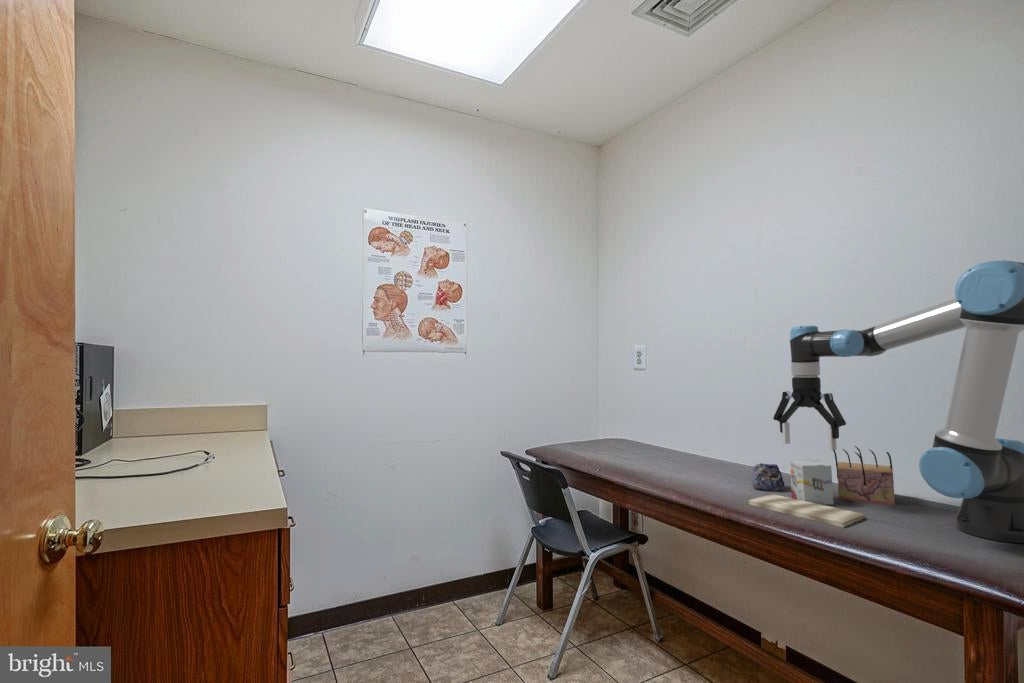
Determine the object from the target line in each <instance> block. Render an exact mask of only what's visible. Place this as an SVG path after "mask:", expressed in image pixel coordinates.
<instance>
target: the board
mask: <svg viewBox="0 0 1024 683" xmlns="http://www.w3.org/2000/svg"><path fill="white" fill-rule="evenodd" d="M747 502H748V505H750V506H755V507H759V508H762V509H766V510H770V511H774V512H778V513H783V514H787V515H790V514H791V516H794V515H795V516H794V517H799V518H802V517H803V518H802V519H806V518H807V519H806V520H810V519H811V520H812V521H814V520H815V521H814V522H818V521H819V523H822V522H823V524H827V525H831V526H835V527H840V528H845V526H846V527H848V526H847V525H849V526H851V525H853V524H852V523H854V522H856V523H858V522H857V521H859V522H861V521H863V520H862V519H864V518H867V517H866V514H864V513H861V512H856V511H852V510H847V509H842V508H837V507H833V506H830V505H820V504H816V503H811V502H807V501H802V500H797V499H794V498H792V497H788V496H783V495H778V494H773V493H771V494H766V495H763V496H760V497H755V498H751V499H749V500H748V501H747ZM860 520H861V521H860ZM864 520H865V519H864ZM850 524H851V525H850ZM854 524H855V523H854Z"/></svg>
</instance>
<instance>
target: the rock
mask: <svg viewBox="0 0 1024 683" xmlns="http://www.w3.org/2000/svg"><path fill="white" fill-rule="evenodd" d="M751 469H752V470H751V473H750V474H751V475H750V476H751V477H750V482H751V486H752V487H753V488H755V489H759V490H764V491H767V492H778V491H780V490H782V489H783V488H785V482H784V478H783V475H782V472H781V471H780V468H779V466H778V464H773V463H770V464H769V463H763V462H760V463H757V464H754V466H752V467H751Z"/></svg>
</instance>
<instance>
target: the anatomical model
mask: <svg viewBox="0 0 1024 683" xmlns="http://www.w3.org/2000/svg"><path fill="white" fill-rule="evenodd" d="M854 447H855V448H856V449H857V451H858V452H859V453H858V452H856V451H854V454H856V455H857V456H858V458H859V460H860V463H859V462H858V463H857V462H855V463H854V462H851V458H850V455H849V453H848V452H847V450H845V449H843V448H842V451H844V453H845V454H846V455H847V458H848V462H844V461H838V456H837V452H836V450H832V451H833V454H834V459H835V466H836V467H835V468H836V479H837V488H838V489H837V490H838V500H843V501H852V502H862V503H871V504H879V505H890V506H896V504H895V501H896V500H895V486H894V482H895V481H894V473H893V472H894V471H893V462H892V457H891V454H890V453H889V452H888V451H886V454H887V456H888V458H889V465H883V464H878V461H877V460H878V459H877V457H876V454H875V453H874V451H872V450H871V449H869V448H868V449H867V450H869V451H870V452H871V454H872V455H873V456H874V460H875V464H870V463H864V461H863V455H862V453H861V450H860V449H859V448H858V447H857V446H856V445H854Z"/></svg>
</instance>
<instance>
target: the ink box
mask: <svg viewBox="0 0 1024 683" xmlns="http://www.w3.org/2000/svg"><path fill="white" fill-rule="evenodd" d="M789 465H790V488H791V489H790V490H791V498H793V499H797V500H802V501H807V502H811V503H816V504H820V505H825V506H830V505H832V506H833V505H834V493H833V492H834V490H833V474H832V465H831V464H828V463H826V462H824V461H821V460H819V459H813V458H810V459H809V458H808V459H793V460H792V459H791V460H790V461H789Z"/></svg>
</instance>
